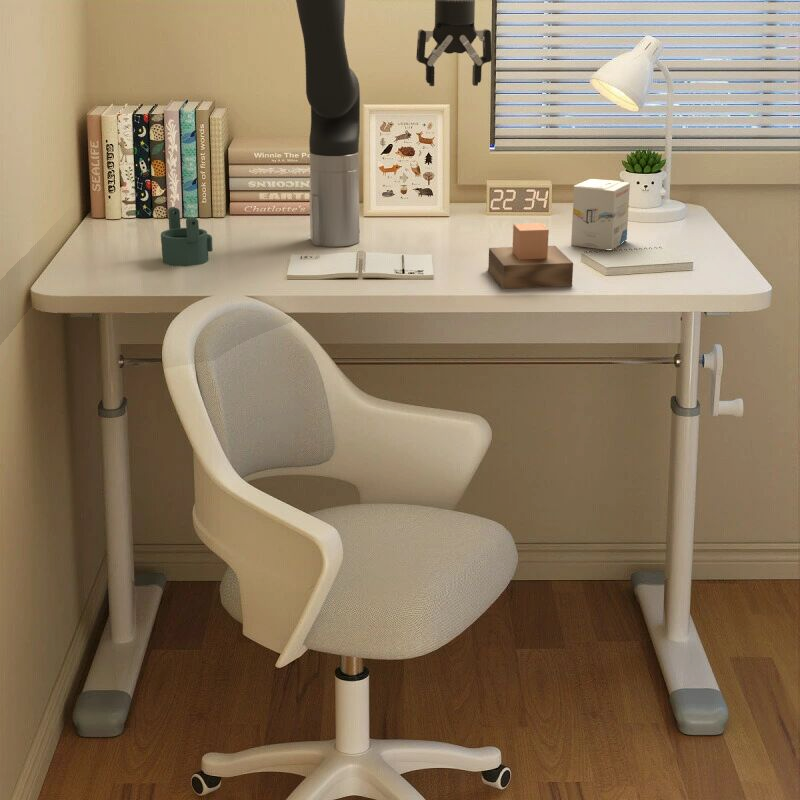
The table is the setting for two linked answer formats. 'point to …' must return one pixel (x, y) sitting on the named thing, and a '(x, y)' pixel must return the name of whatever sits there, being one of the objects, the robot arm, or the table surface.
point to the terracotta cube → (530, 241)
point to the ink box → (600, 213)
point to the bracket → (184, 242)
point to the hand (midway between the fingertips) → (453, 85)
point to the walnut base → (530, 269)
